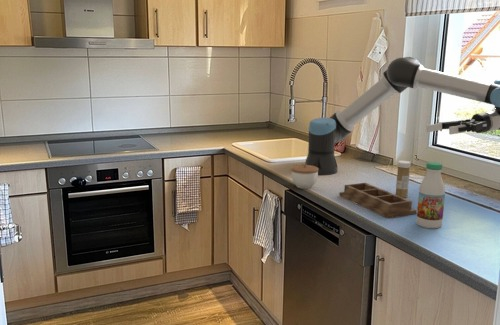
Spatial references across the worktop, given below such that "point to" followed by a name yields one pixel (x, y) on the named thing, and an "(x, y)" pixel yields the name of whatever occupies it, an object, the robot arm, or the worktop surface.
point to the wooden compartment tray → (378, 200)
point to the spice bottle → (402, 178)
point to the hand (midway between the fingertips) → (437, 129)
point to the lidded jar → (304, 175)
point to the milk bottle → (431, 197)
